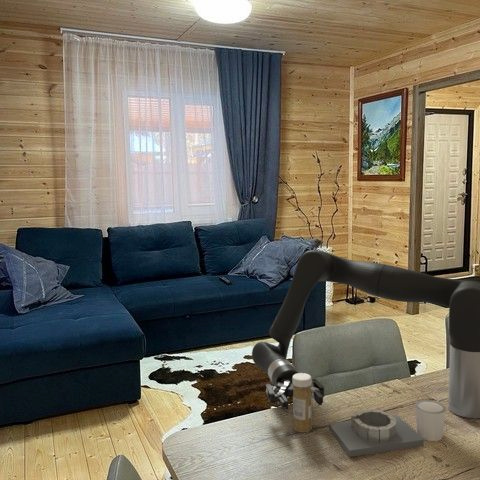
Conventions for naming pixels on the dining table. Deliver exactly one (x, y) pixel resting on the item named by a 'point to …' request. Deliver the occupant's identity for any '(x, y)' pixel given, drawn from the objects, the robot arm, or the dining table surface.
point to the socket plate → (362, 447)
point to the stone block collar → (372, 432)
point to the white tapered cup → (430, 419)
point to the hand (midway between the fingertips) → (304, 403)
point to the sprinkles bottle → (302, 402)
